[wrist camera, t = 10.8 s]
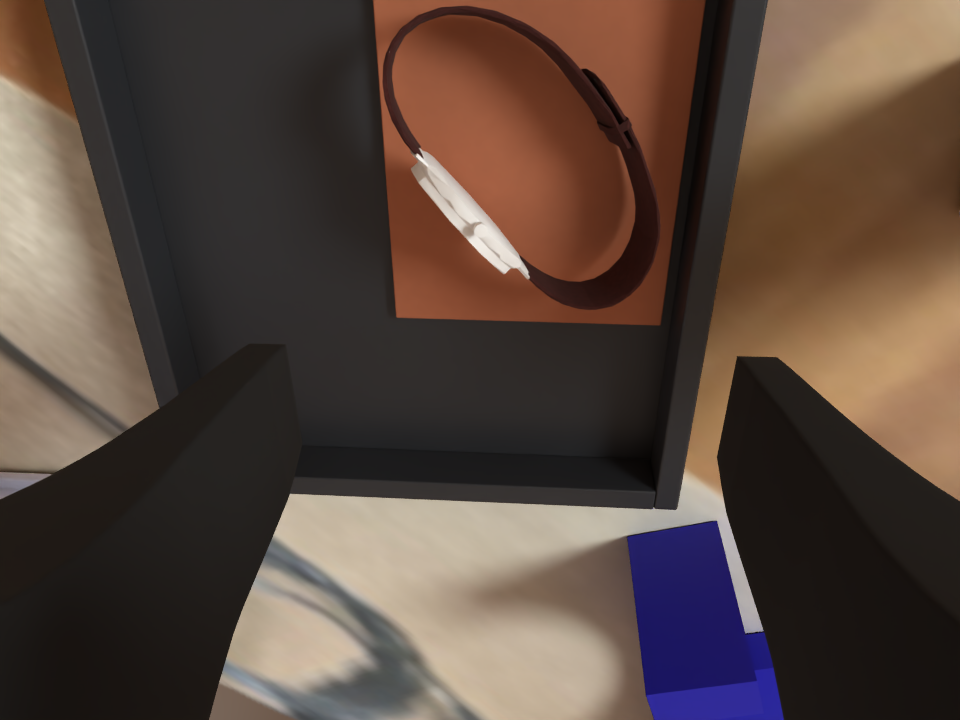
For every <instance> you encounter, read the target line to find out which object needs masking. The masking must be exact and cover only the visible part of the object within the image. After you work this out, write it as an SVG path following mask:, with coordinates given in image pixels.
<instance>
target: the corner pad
mask: <svg viewBox="0 0 960 720" xmlns="http://www.w3.org/2000/svg"><path fill="white" fill-rule="evenodd" d="M705 3H706V0H373V8H374V22H375V35H376V49H377V63H378V76H379V90H380V104H381V117H382V131H383V144H384V158H385V172H386V185H387V199H388V213H389V226H390V240H391V253H392V267H393V281H394V294H395V308H396V317H397V318H425V319H459V320H493V321H527V322H561V323H595V324H629V325H661V320H662V313H663V305H664V298H665V291H666V284H667V277H668V269H669V262H670V255H671V248H672V241H673V233H674V226H675V219H676V212H677V205H678V197H679V190H680V183H681V176H682V169H683V161H684V154H685V147H686V140H687V133H688V125H689V118H690V111H691V104H692V97H693V89H694V82H695V75H696V68H697V61H698V53H699V46H700V39H701V32H702V24H703V17H704V10H705ZM452 6H473V7H478V8H484V9H490V10H495V11H498V12H500V13H503V14H505V15H508V16H510V17H512V18H515V19H517V20H520V21H522V22H524V23H526V24H528V25H529V26H531V27H533V28H534V29H536V30H538V31H539V32H540V33H542V34H543V35H545V36H546V37H548V38H549V39H551V40H552V41H554V42H555V43H556V44H557V45H558V46H559V47H560V48H561V49H562V50H563V51H564V52H565V53H566V54H567V55H568V56H569V57H570V58H571V59H572V60H573V61H574V62H575V63H576V64H577V66H578V67H579V68H580V69H588V70H590V71H592V72H594V73H595V74H596V75H597V76H598V77H599V78H600V79H601V80H602V82H603V83H604V84H605V85H606V86H607V88H608V90H609V91H610V93H611V94H612V96H613V97H614V99H615V101H616V102H617V104H618V105H619V107H620V109H621V110H622V112H623V113H624V115H625V116H626V117H628V118H629V120H630V122H631V124H632V126H631V127H632V129H633V132H634V134H635V136H636V138H637V140H638V142H639V144H640V146H641V149H642V152H643V155H644V158H645V161H646V164H647V167H648V170H649V172H650V175H651V178H652V181H653V184H654V187H655V190H656V196H657V201H658V207H659V212H660V224H661V227H660V240H659V244H658V247H657V251H656V255H655V259H654V262H653V264H652V266H651V268H650V271H649V272H648V274H647V275H646V277H645V279H644V280H643V282H642V284H641V285H640V286H639V287H638V288H637V289H636V290H635V291H634V292H633V293H632V294H631V295H630V296H629V297H627V298H626V299H624V300H623V301H622V302H620V303H618V304H616V305H614V306H612V307H607V308H603V309H597V310H584V309H577V308H573V307H570V306H566V305H563V304H561V303H559V302H557V301H555V300H553V299H551V298H550V297H549V296H547V295H546V294H545V293H544V292H542V291H541V290H540V289H538V288H537V287H536V286H535V285H534V284H533V283H532V282H531V281H530V280H529V279H528V280H527V279H526V278H525V276H524V275H523V274H522V273H521V272H520V271H519V270H518V269H517V268H510V269H509V270H508V271H507V273H506V274H503V273H502V272H500V271H499V270H498V269H497V268H496V267H494V266H493V265H492V264H491V263H490V262H489V261H488V260H487V259H486V258H485V257H483V256H482V255H481V254H480V253H479V252H478V251H477V250H476V249H475V247H474V246H473V245H472V244H471V243H470V242H469V241H468V240H467V239H466V238H465V237H464V236H463V235H462V234H461V233H460V231H459V230H458V229H457V228H456V227H455V226H454V225H453V224H452V223H451V222H450V221H449V219H448V218H447V217H446V216H445V215H444V213H443V212H442V211H441V210H440V209H439V207H438V206H437V205H436V204H435V203H434V201H433V200H432V199H431V198H430V197H429V195H428V194H427V193H426V192H425V190H424V189H423V188H422V187H421V185H420V184H419V183H418V181H417V180H416V178H415V176H414V174H413V173H412V171H411V168H412V167H413V166H414V165H415V164H417V163H418V160H417V159H416V158H415V157H414V156H413V155H412V154H411V152H410V149H409V147H408V146H407V145H406V144H405V143H404V141H403V140H402V138H401V136H400V134H399V133H398V131H397V129H396V128H395V126H394V124H393V122H392V120H391V117H390V114H389V111H388V108H387V105H386V102H385V99H384V91H383V84H382V81H383V63H384V59H385V55H386V52H387V50H388V48H389V46H390V43H391V41H392V40H393V38H394V37H395V36H396V34H397V33H398V31H399V30H400V29H401V28H402V27H403V26H404V25H406V24H407V23H408V22H410V21H411V20H412V19H414V18H415V17H416V16H418V15H420V14H423V13H426V12H428V11H431V10H434V9H437V8H440V7H452ZM392 81H393V88H394V95H395V98H396V101H397V104H398V106H399V109H400V111H401V114H402V116H403V119H404V120H405V122H406V124H407V126H408V128H409V129H410V131H411V133H412V134H413V136H414V137H415V139H416V140H417V141H418V143H419V144H420V146H421V149H422V150H423V151H425V152H428V153H429V154H430V155H432V156H433V157H434V158H435V159H436V160H437V161H438V162H439V163H440V164H441V165H442V166H443V167H444V168H445V169H446V170H447V171H448V173H449V174H450V175H451V176H452V177H453V178H454V179H455V180H456V181H457V182H458V183H459V184H460V185H461V186H462V187H463V188H464V189H465V190H466V191H467V192H468V194H469V195H470V196H471V197H472V198H473V199H474V200H475V202H476V203H477V204H478V205H479V206H480V207H481V208H482V209H483V211H484V212H485V213H486V214H487V215H488V216H489V217H490V218H491V220H492V221H493V222H494V223H495V224H496V225H497V227H498V228H499V229H500V231H501V232H502V233H503V234H504V236H505V237H506V238H507V240H508V241H509V242H510V244H511V245H512V246H513V247H514V249H515V250H516V251H517V253H518V254H519V255H520V256H522V257H523V258H524V259H525V260H526V261H527V262H529V263H530V264H531V265H533V266H534V267H536V268H537V269H539V270H540V271H542V272H544V273H546V274H548V275H550V276H552V277H554V278H557V279H561V280H566V281H577V282H581V281H585V280H589V279H594V278H596V277H597V276H599V275H601V274H602V273H604V272H606V271H607V270H609V269H610V268H611V267H612V266H613V265H614V264H615V263H616V262H617V260H618V259H619V258H620V257H621V256H622V254H623V252H624V250H625V248H626V246H627V244H628V242H629V240H630V237H631V233H632V229H633V226H634V222H635V199H634V191H633V188H632V184H631V181H630V177H629V174H628V170H627V166H626V164H625V161H624V158H623V156H622V153H621V151H620V148H619V146H617V145H615V144H613V143H611V142H609V140H608V138H607V137H606V135H605V133H604V132H603V131H601V130H600V129H599V127H598V124H597V120H596V118H595V116H594V115H593V113H592V111H591V110H590V108H589V106H588V105H587V103H586V102H585V101H584V100H583V98H582V97H581V96H580V94H579V93H578V92H577V90H576V89H575V88H574V86H573V85H572V84H571V82H570V81H569V80H568V78H567V77H566V76H565V74H564V73H563V72H562V71H561V69H560V68H559V67H558V65H557V64H556V63H555V62H554V61H553V60H552V59H551V58H550V57H549V56H548V55H547V54H546V53H545V52H544V51H543V50H542V49H541V48H540V47H538V46H537V45H536V44H534V43H533V42H532V41H530V40H529V39H527V38H526V37H525V36H523V35H521V34H519V33H517V32H516V31H514V30H512V29H510V28H508V27H507V26H505V25H503V24H499V23H496V22H493V21H490V20H487V19H484V18H481V17H478V16H463V15H446V16H441V17H437V18H435V19H432V20H429V21H427V22H424V23H422V24H420V25H418V26H417V27H416V28H414V29H413V30H412V31H411V32H409V33H408V34H407V35H406V36H405V37H404V39H403V41H402V42H401V44H400V46H399V48H398V50H397V51H396V54H395V59H394V63H393V68H392Z"/></svg>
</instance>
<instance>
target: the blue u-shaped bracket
mask: <svg viewBox="0 0 960 720" xmlns="http://www.w3.org/2000/svg"><path fill="white" fill-rule="evenodd" d="M627 538H628V547H629V555H630V564H631V572H632V581H633V589H634V598H635V606H636V615H637V624H638V632H639V641H640V649H641V658H642V666H643V675H644V683H645V692H646V697H647V700H648V703H649V706H650V709H651V712H652V715H653V718H654V720H784V718H783V713H782V708H781V703H780V698H779V693H778V688H777V683H776V678H775V673H774V668H773V663H772V659H771V655H770V651H769V648H768V644H767V640H766V637H765V633H764V632H762V633H755V634H748V635H745V631H744V627H743V623H742V619H741V615H740V611H739V607H738V603H737V599H736V595H735V591H734V587H733V583H732V579H731V575H730V571H729V567H728V563H727V559H726V555H725V551H724V547H723V543H722V539H721V535H720V531H719V527H718V523H717V521H714V522H708V523H703V524H697V525H691V526H685V527H680V528H674V529H668V530H662V531H657V532H651V533H645V534H639V535H634V536H628V537H627Z"/></svg>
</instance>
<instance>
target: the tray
mask: <svg viewBox="0 0 960 720" xmlns="http://www.w3.org/2000/svg"><path fill="white" fill-rule="evenodd" d="M44 2H45V6H46V9H47V13H48V16H49V20H50V23H51V27H52V30H53V34H54V38H55V41H56V45H57V48H58V52H59V55H60V59H61V62H62V66H63V69H64V73H65V76H66V80H67V83H68V87H69V91H70V94H71V98H72V101H73V105H74V108H75V112H76V115H77V119H78V122H79V126H80V129H81V133H82V136H83V140H84V143H85V147H86V151H87V154H88V158H89V161H90V165H91V168H92V172H93V175H94V179H95V182H96V186H97V189H98V193H99V196H100V200H101V204H102V207H103V211H104V214H105V218H106V221H107V225H108V228H109V232H110V235H111V239H112V242H113V246H114V249H115V253H116V257H117V260H118V264H119V267H120V271H121V274H122V278H123V281H124V285H125V288H126V292H127V295H128V299H129V302H130V306H131V309H132V313H133V317H134V320H135V324H136V327H137V331H138V334H139V338H140V341H141V345H142V348H143V352H144V355H145V359H146V362H147V366H148V370H149V373H150V377H151V380H152V384H153V387H154V391H155V394H156V398H157V401H158V405H159V408H161V407H162V406H164V405H165V404H167V403H168V402H169V401H171V400H172V399H173V398H175V397H176V396H178V395H179V394H180V393H182V392H183V391H184V390H186V389H187V388H188V387H190V386H191V385H192V384H194V383H195V382H197V381H198V380H199V379H201V378H202V377H203V376H205V375H206V374H207V373H209V372H210V371H211V370H213V369H214V368H215V367H217V366H218V365H219V364H221V363H222V362H223V361H225V360H226V359H227V358H229V357H230V356H231V355H233V354H234V353H236V352H237V351H238V350H240V349H241V348H243V347H245V346H246V345H248V344H249V343H250V344H286V348H287V354H288V360H289V366H290V372H291V378H292V384H293V390H294V396H295V402H296V408H297V414H298V420H299V425H300V431H301V437H302V448H301V452H300V456H299V460H298V464H297V468H296V472H295V476H294V480H293V484H292V487H291V491H290V494H311V495H334V496H358V497H381V498H404V499H428V500H451V501H474V502H497V503H521V504H544V505H567V506H591V507H614V508H637V509H653V507H654V508H655V509H669V510H676V509H677V507H678V501H679V496H680V490H681V485H682V479H683V473H684V468H685V462H686V457H687V451H688V445H689V440H690V434H691V428H692V423H693V417H694V412H695V406H696V400H697V395H698V389H699V384H700V378H701V372H702V367H703V361H704V356H705V350H706V344H707V339H708V333H709V328H710V322H711V316H712V311H713V305H714V300H715V294H716V288H717V283H718V277H719V272H720V266H721V260H722V255H723V249H724V243H725V238H726V232H727V227H728V221H729V215H730V210H731V204H732V199H733V193H734V187H735V182H736V176H737V171H738V165H739V159H740V154H741V148H742V143H743V137H744V131H745V126H746V120H747V115H748V109H749V103H750V98H751V92H752V87H753V81H754V75H755V70H756V64H757V58H758V53H759V47H760V42H761V36H762V30H763V25H764V19H765V14H766V8H767V2H768V0H706V3H705V10H704V17H703V24H702V32H701V39H700V46H699V53H698V61H697V68H696V75H695V82H694V89H693V97H692V104H691V111H690V118H689V125H688V133H687V140H686V147H685V154H684V161H683V169H682V176H681V183H680V190H679V197H678V205H677V212H676V219H675V226H674V233H673V241H672V248H671V255H670V262H669V269H668V277H667V284H666V291H665V298H664V305H663V313H662V320H661V325H629V324H595V323H561V322H527V321H493V320H459V319H425V318H397V317H396V308H395V294H394V281H393V267H392V253H391V240H390V226H389V213H388V199H387V185H386V172H385V158H384V144H383V131H382V117H381V104H380V90H379V76H378V63H377V49H376V35H375V22H374V8H373V0H44Z"/></svg>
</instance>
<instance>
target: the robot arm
mask: <svg viewBox="0 0 960 720" xmlns="http://www.w3.org/2000/svg"><path fill="white" fill-rule="evenodd" d="M301 448H302V437H301V431H300V425H299V420H298V414H297V408H296V402H295V396H294V390H293V384H292V378H291V372H290V366H289V360H288V354H287V348H286V344H250V343H249V344H248V345H246V346H245V347H243V348H241V349H240V350H238V351H237V352H236V353H234V354H233V355H231V356H230V357H229V358H227V359H226V360H225V361H223V362H222V363H221V364H219V365H218V366H217V367H215V368H214V369H213V370H211V371H210V372H209V373H207V374H206V375H205V376H203V377H202V378H201V379H199V380H198V381H197V382H195V383H194V384H192V385H191V386H190V387H188V388H187V389H186V390H184V391H183V392H182V393H180V394H179V395H178V396H176V397H175V398H173V399H172V400H171V401H169V402H168V403H167V404H165V405H164V406H162V407H161V408H160V409H158V410H157V411H155V412H154V413H152V414H151V415H149V416H148V417H146V418H145V419H143V420H142V421H140V422H139V423H137V424H136V425H134V426H133V427H131V428H130V429H128V430H127V431H125V432H124V433H122V434H121V435H119V436H118V437H116V438H115V439H113V440H112V441H110V442H108V443H107V444H105V445H103V446H102V447H100V448H99V449H97V450H95V451H93V452H92V453H90V454H88V455H87V456H85V457H83V458H81V459H80V460H78V461H76V462H74V463H72V464H70V465H69V466H67V467H65V468H63V469H61V470H59V471H58V472H56V473H54V474H37V473H14V472H0V720H209V717H210V714H211V710H212V706H213V702H214V699H215V695H216V691H217V688H218V684H219V681H220V677H221V674H222V671H223V667H224V664H225V660H226V657H227V654H228V650H229V647H230V643H231V640H232V637H233V633H234V631H235V628H236V625H237V622H238V620H239V617H240V614H241V611H242V609H243V606H244V604H245V601H246V599H247V597H248V594H249V592H250V590H251V587H252V585H253V582H254V580H255V578H256V575H257V573H258V570H259V568H260V566H261V563H262V561H263V558H264V556H265V554H266V551H267V549H268V546H269V544H270V542H271V539H272V537H273V535H274V532H275V530H276V527H277V525H278V522H279V520H280V517H281V515H282V512H283V510H284V508H285V505H286V502H287V500H288V497H289V495H290V491H291V487H292V484H293V480H294V476H295V472H296V468H297V464H298V460H299V456H300V452H301ZM717 460H718V466H719V473H720V479H721V486H722V492H723V497H724V503H725V508H726V513H727V516H728V520H729V523H730V526H731V529H732V533H733V536H734V539H735V542H736V545H737V549H738V552H739V555H740V558H741V561H742V564H743V567H744V571H745V574H746V577H747V580H748V583H749V586H750V589H751V592H752V595H753V599H754V602H755V605H756V608H757V611H758V614H759V617H760V620H761V624H762V627H763V630H764V633H765V637H766V640H767V644H768V648H769V651H770V655H771V659H772V663H773V668H774V673H775V678H776V683H777V688H778V693H779V698H780V703H781V708H782V713H783V718H784V720H960V501H958V500H957V499H955V498H954V497H952V496H951V495H949V494H947V493H946V492H944V491H943V490H941V489H940V488H938V487H937V486H935V485H934V484H932V483H931V482H929V481H928V480H926V479H925V478H923V477H922V476H921V475H919V474H918V473H916V472H915V471H914V470H912V469H911V468H910V467H908V466H907V465H906V464H904V463H903V462H902V461H900V460H899V459H898V458H896V457H895V456H894V455H892V454H891V453H890V452H888V451H887V450H886V449H884V448H883V447H882V446H881V445H879V444H878V443H877V442H876V441H874V440H873V439H872V438H871V437H869V436H868V435H867V434H866V433H864V432H863V431H862V430H861V429H860V428H858V427H857V426H856V425H855V424H854V423H852V422H851V421H850V420H849V419H848V418H846V417H845V416H844V415H843V414H842V413H841V412H839V411H838V410H837V409H836V408H835V407H834V406H833V405H831V404H830V403H829V402H828V401H827V400H826V399H825V398H823V397H822V396H821V395H820V394H819V393H818V392H817V391H816V390H814V389H813V388H812V387H811V386H810V385H809V384H808V383H807V382H805V381H804V380H803V379H802V378H801V377H800V376H799V375H797V374H796V373H795V372H794V371H793V370H792V369H791V368H789V367H788V366H787V365H786V364H785V363H783V362H782V361H781V360H780V359H778V358H777V357H742V356H737V360H736V365H735V370H734V375H733V380H732V385H731V390H730V395H729V400H728V405H727V410H726V415H725V420H724V425H723V430H722V435H721V440H720V445H719V450H718V455H717Z"/></svg>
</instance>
